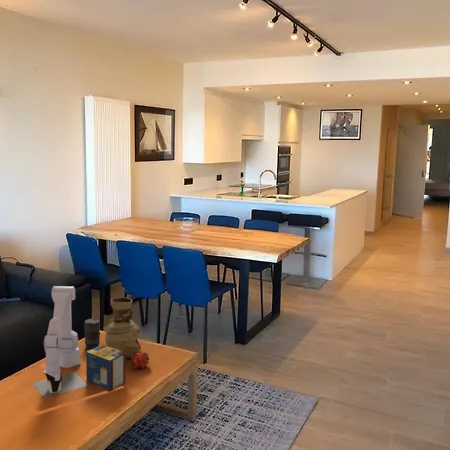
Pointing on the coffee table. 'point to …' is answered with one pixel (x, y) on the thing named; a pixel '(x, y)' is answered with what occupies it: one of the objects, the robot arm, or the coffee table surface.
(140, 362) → the dragon fruit
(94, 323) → the camera lens
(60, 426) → the coffee table surface
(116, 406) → the coffee table surface
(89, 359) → the protein box
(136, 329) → the ceramic vessel
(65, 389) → the base
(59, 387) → the cap
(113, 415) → the coffee table surface
